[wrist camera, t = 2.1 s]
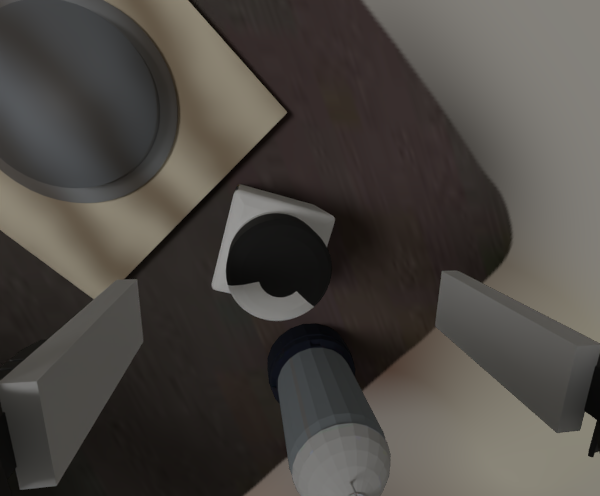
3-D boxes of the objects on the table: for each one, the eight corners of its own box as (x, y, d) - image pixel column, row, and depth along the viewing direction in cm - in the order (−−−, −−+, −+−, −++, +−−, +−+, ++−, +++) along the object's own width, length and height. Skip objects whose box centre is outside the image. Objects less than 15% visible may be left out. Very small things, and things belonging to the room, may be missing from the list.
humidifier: (274, 405, 34) (341, 966, 10) (261, 332, 32) (307, 824, 8) (351, 387, 35) (578, 863, 11) (343, 316, 33) (603, 713, 9)
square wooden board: (104, 299, 29) (91, 311, 27) (-169, 94, 23) (-217, 86, 21) (285, 114, 28) (289, 109, 25) (48, -154, 22) (23, -193, 19)
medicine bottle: (237, 183, 29) (232, 195, 17) (316, 205, 30) (360, 229, 19) (218, 262, 30) (200, 322, 18) (294, 279, 31) (323, 345, 20)
